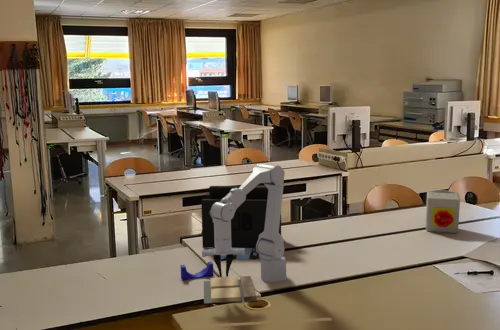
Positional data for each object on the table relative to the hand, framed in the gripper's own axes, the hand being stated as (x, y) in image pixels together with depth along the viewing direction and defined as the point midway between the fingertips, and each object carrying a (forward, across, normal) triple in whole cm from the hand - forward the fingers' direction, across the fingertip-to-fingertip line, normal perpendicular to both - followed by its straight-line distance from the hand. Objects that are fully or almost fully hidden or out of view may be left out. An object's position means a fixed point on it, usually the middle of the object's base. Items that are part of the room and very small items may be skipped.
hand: (223, 275), depth 183 cm
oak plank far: (+8, 0, +10) cm, 13 cm away
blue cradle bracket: (+9, -10, +21) cm, 24 cm away
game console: (+9, +10, +55) cm, 57 cm away
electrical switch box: (+9, +109, +68) cm, 129 cm away
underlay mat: (+8, +2, +5) cm, 10 cm away
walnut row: (+8, +8, +5) cm, 12 cm away
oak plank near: (+7, 0, 0) cm, 7 cm away
